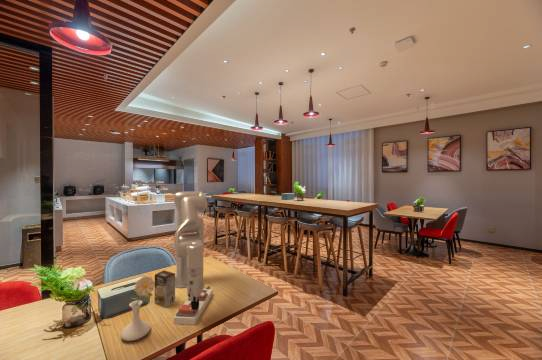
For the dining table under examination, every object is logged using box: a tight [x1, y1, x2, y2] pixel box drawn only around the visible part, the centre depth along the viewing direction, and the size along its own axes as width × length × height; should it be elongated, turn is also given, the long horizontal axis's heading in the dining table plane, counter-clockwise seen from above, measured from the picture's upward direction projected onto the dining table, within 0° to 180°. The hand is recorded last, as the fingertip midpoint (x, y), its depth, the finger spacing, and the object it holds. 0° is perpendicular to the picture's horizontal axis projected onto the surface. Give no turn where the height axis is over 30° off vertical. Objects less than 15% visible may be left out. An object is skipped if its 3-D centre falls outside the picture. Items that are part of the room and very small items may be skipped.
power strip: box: [173, 285, 214, 326], centre depth 128 cm, size 10×36×4 cm, turn 177°
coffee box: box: [154, 270, 176, 308], centre depth 128 cm, size 9×6×16 cm
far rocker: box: [199, 292, 206, 299], centre depth 128 cm, size 7×4×2 cm, turn 87°
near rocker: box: [177, 304, 196, 314], centre depth 114 cm, size 7×4×2 cm, turn 87°
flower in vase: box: [120, 275, 155, 342], centre depth 103 cm, size 13×11×25 cm
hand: (195, 308), depth 114 cm, fingers closed
